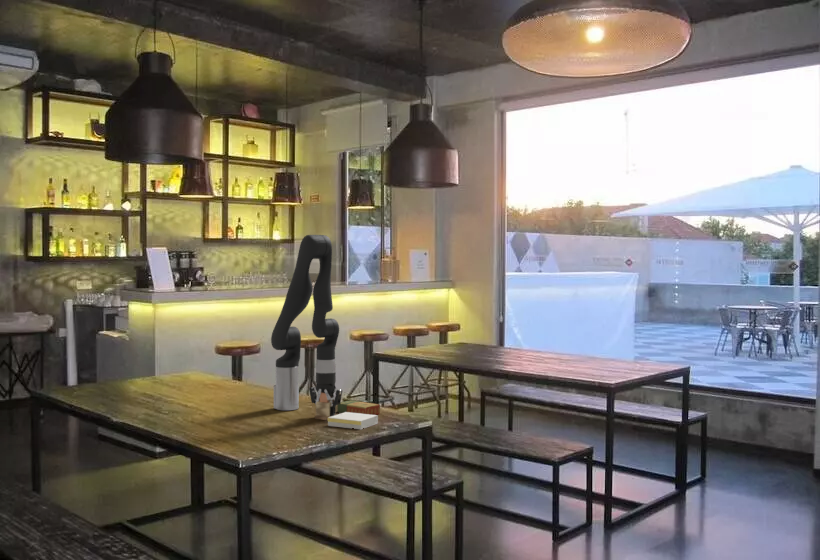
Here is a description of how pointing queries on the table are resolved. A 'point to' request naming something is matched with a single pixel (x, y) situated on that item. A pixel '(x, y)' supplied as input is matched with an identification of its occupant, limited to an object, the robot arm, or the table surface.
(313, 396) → the robot arm
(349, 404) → the carton
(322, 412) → the wooden stepped block
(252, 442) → the table surface
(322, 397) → the block
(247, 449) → the table surface
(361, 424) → the dock
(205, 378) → the table surface
